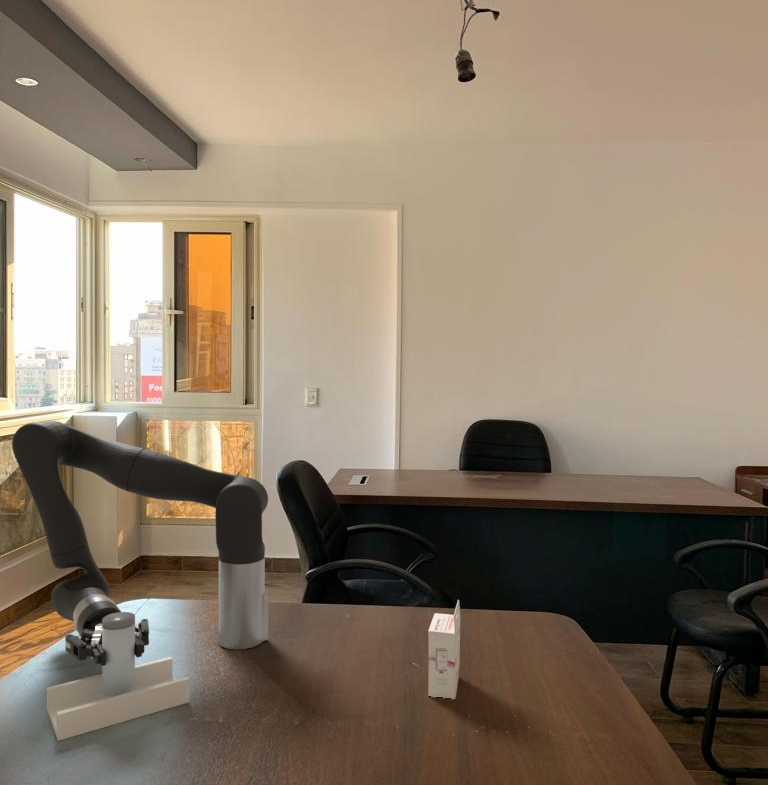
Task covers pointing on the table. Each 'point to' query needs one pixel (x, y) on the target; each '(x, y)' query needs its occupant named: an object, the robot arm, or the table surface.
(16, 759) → the table surface
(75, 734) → the tray
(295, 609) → the table surface
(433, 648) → the ink cartridge box
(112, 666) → the grey capped cylinder
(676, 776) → the table surface
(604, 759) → the table surface
